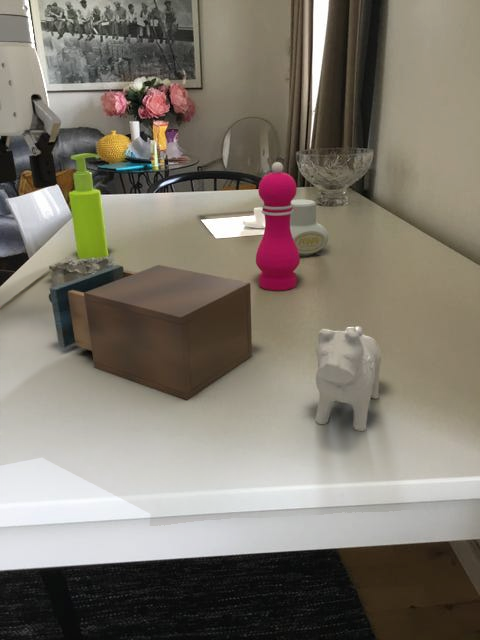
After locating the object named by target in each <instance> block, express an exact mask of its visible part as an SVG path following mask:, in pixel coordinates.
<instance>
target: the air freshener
mask: <svg viewBox="0 0 480 640" xmlns="http://www.w3.org/2000/svg"><path fill="white" fill-rule="evenodd" d="M291 203H292V204H293V207H292V208H293V213H291V215H290V230H291V234H292V237H293V240H294V242H295V244H296V246H297V248H298V252H299V257H310V256H312V255H314V254H316V253H319V252H320V251H322V250H323V249H324V248H325V247H326V246H327V244H328V241H329V234H328V231H327V230H326V228H325V227H324V226H323V225H322V224H320V223H318V222H317V203H316V201H314V200H311V199H292V201H291Z"/></svg>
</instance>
